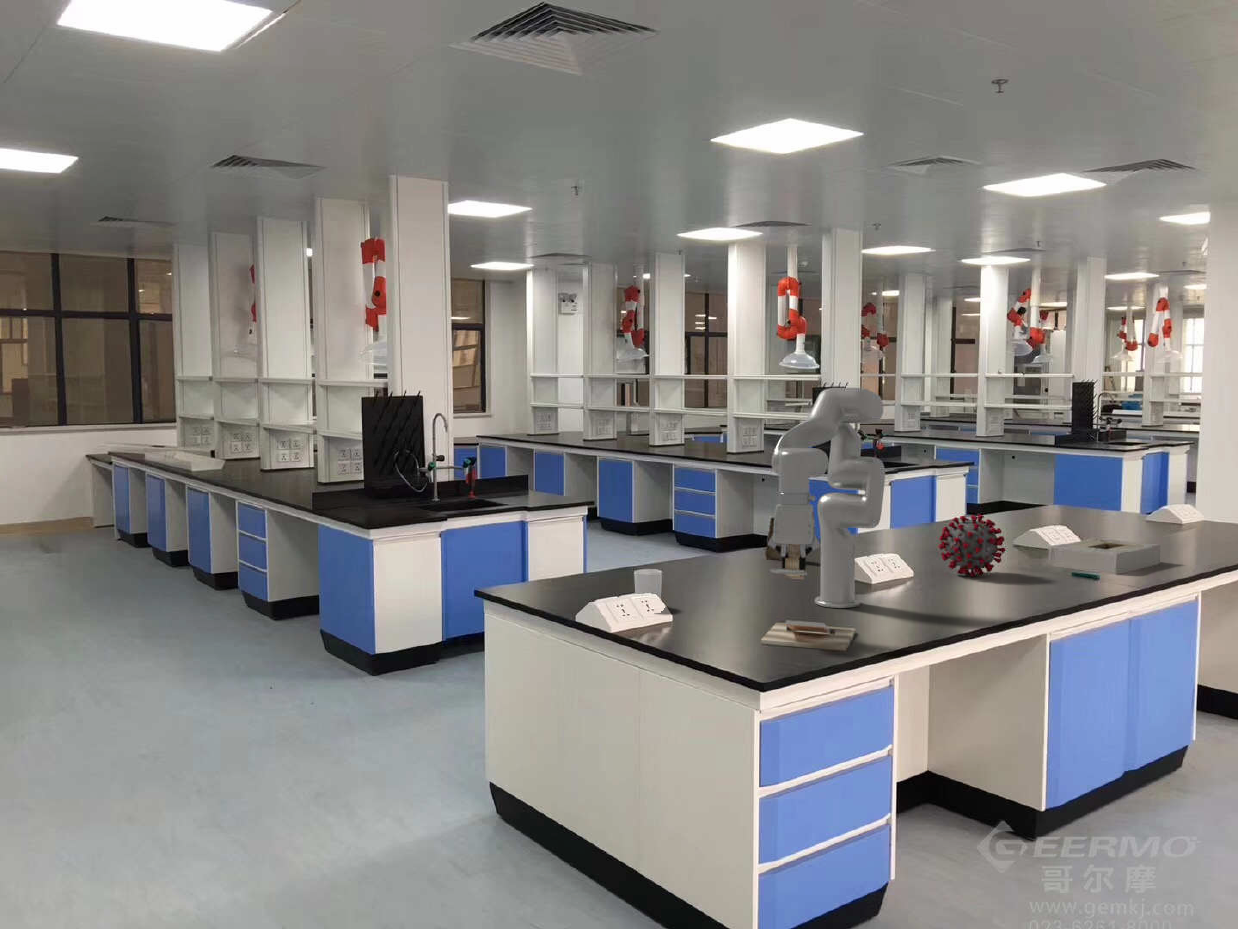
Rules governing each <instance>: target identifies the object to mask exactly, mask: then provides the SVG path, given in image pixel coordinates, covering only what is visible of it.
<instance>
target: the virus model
mask: <svg viewBox="0 0 1238 929" xmlns="http://www.w3.org/2000/svg"><path fill="white" fill-rule="evenodd" d="M970 518H971V519H969V518H967V517H966V515H961V516H960V517H959V518H958V517H954V518H952V521H951V522H950V523H949V524H948V527H950V529H949V528H948V527H947V526H944V527H943V528H942V533H941V535H940V537H939V541H940V542H941V543H940V544H939V545H938V548H939V550H940V551H942V550H944V551H945V552H946V553H945V552H941V558H942V560H943V561H944V562H946V561H947V560H949V559H950V561H949V564H948V567H949V569H950V570H954V569H956V568H957V567H959V569H958V570H957V574H958V575H970V577H976V576H977V574H978V575H979V576H982V575H985V571H983V569H986V572H987V573H990V572H992V571H993V568H994V567H995V564H992V563H993V561H995V562H996V563H997V564H1000V563H1002V558H1001V557H1002V555H1003V554H1004V553H1005V552H1006V548H1005V547H1002V546H1003V545H1004V542H1005V537H1004V536H1001V535H1000V536H997V535H999V534H1002V529H1001V527H1000V528H999V527H997V528H995V527H996V523H995V522H994V521H992V520H991V519H990V518H989V519H988V518H987V519H986V520H983V518H985V516H984V515H983V514H978V515H977V516H975V514H974V515H971V516H970ZM959 519H960V520H961V522H960V521H959ZM998 546H999V547H998ZM969 570H970V571H969Z"/></svg>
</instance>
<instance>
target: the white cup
mask: <svg viewBox="0 0 1238 929" xmlns="http://www.w3.org/2000/svg"><path fill="white" fill-rule="evenodd" d="M633 576H634V591H635V594H641V593H651V594H656V595H657V596H658V597H659V598H660V600H661V598H662V587H663V586H662V584H663V580H662V579H663V571H662V570H660V569H653V568H644V569H643V568H642V569H637V570H634V572H633Z"/></svg>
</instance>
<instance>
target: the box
mask: <svg viewBox="0 0 1238 929" xmlns="http://www.w3.org/2000/svg"><path fill="white" fill-rule="evenodd" d="M1160 562H1161V545H1160V544H1154V543H1153V544H1152V543H1151V544H1150V543H1142V542H1133V541H1126V540H1125V541H1123V540H1116V539H1105V538H1101V537H1090V538H1086V539H1084V540H1080V541H1079V540H1078V541H1075V542H1069V543H1068V542H1067V543H1059V544H1054V545H1050V546H1049V547H1048V563H1049V566H1050V567H1058V568H1059V567H1060V568H1066V569H1073V570H1081V571H1087V572H1095V573H1102V574H1108V575H1115V576H1117V575H1120V574H1125V573H1128V572H1133V571H1137V570H1141V569H1144V568H1149V567H1152V566H1156V565H1157V566H1158V565H1160V564H1161V563H1160Z"/></svg>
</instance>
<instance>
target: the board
mask: <svg viewBox="0 0 1238 929" xmlns="http://www.w3.org/2000/svg"><path fill="white" fill-rule="evenodd" d="M827 627H828V628H829V633H817V632H804V631H792V630H791V629H790V628H789V627H788V626H786V622H785V623H782V622H775V623H774V625H773V626H772V627H771V628H770V629H769V630H768V631H767V632H766V633H765V635H763V637H762V638H761V639H760V644H761V645H770V646H771V645H772V646H782V647H795V648H805V649H806V648H807V649H817V650H818V649H819V650H831V651H843V652H846V651H847V649H848V648H849V646H850V645H851V641H852V640H853V638H854V636H855V634H857V633H856V630H857V629H856V628H851V627H849V628H848V627H834V626H827Z"/></svg>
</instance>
